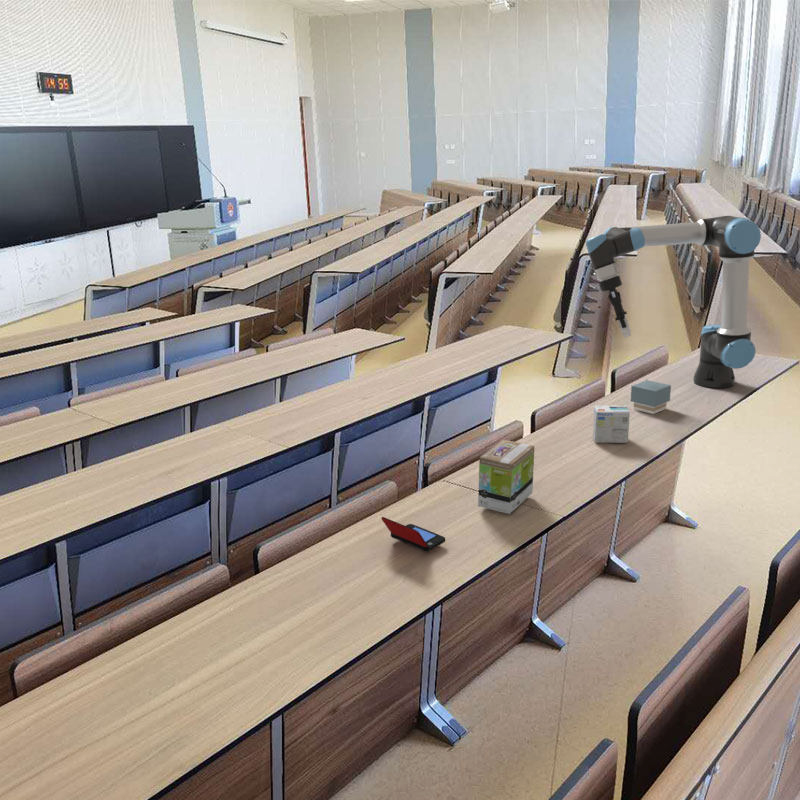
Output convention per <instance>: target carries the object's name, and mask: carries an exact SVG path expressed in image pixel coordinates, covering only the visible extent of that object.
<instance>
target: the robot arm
mask: <svg viewBox="0 0 800 800" xmlns="http://www.w3.org/2000/svg"><path fill="white" fill-rule="evenodd" d="M761 238H762V234H761V229H760V227H759V226H758V225H757V223H755V222H754V221H753V220H751V219H749V218H745V217H741V216H740V217H738V216H733V215H722V216H715V217H709V218H708V217H707V218H699V219H698V220H697V221H696V222H695V221H694V222H682V223H669V224H668V223H667V224H657V225H656V224H654V225H653V224H652V225H641V226H630V227H617V226H612V227H609V228H607V229H606V230H605V231H604V233H601V234H598V235H595V236H593V237H591V238H588V239H586V241H585V246H586V250H587V254H588V256H589V259H590V261H591V264H592V267H593V270H594V273H593V276H596V279H597V281H599V282H598V285H599V289H600V290H601V292H603V293H604V292H607V291H608V292H609V293H608V294H609V295H607V297H608V299H609V301H610V304H611V306H613V309H614V312H615V315H616V316H615V319H614V320H615V321H617V322H618V325H619V328H620V331H621V335H622V337H623V339H625V338H627V337H630V336H632V334H631V332H632V330H631V327H630V324H629V321H628V318H627V314H628V313H627V311H625V309H624V308H623V304H622V298H621V292H620V291H618V290H617V288H618V287H621V286H622V284H623V282H622V279H621V277H620V275H618V274H619V270H618V267H617V264H616V261H615V259H616V258H618V257H621V256H624V255H626V254H629V253H633V252H637V251H638V250H641V249H643V248H645V247H646V248H647V247H658V246H672V245H673V246H675V245H687V244H688V245H690V244H691V245H692V244H696V245H698V246H699V247H700V246H710V247H711V246H712V247H717V248H718V258H719V259H720V260H721V261H722V263H723V264H722V289H721V290H722V291H721V292H722V295H721V323H720V324H708V325H704V326H703V327H702V329H701V333H700V337H701V338H700V348H699V349H700V350H699V363H698V366H697V367H696V370H695V373H694V375H693V381H694V382H693V384H696V385H698V386H701V387H705V388H713V389H714V388H716V389H719V388H721V389H723V388H730V387H733V386H734V385H735V383H736V377H735V373H734V370H735V369H737V370H738V369H743V368H745V367H747V366H748V365H749V364H750V363H752V361H753V360H754V358H755V357H756V346H755V344H754V342H752V339H751V336H752V330H751V328H749V327H748V323H747V322H748V304H749V303H748V300H749V280H750V278H749V275H750V261H751V260H752V259H753V258H754V257H755V250H756V248H757V247H758V246H759V245H760V243H761Z"/></svg>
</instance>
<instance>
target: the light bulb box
mask: <svg viewBox="0 0 800 800" xmlns="http://www.w3.org/2000/svg"><path fill="white" fill-rule="evenodd" d="M630 413H631V412H630V410H629V408H628V406H627V405H597V404H595V405H593V423H592V424H593V427H592V430H593V431H592V432H593V433H592V436H593V440H594V442H595V443H606V444H607V443H614V444H615V443H617V444H619V443H621V444H622V443H623V444H624V443H626V444H627V443H629V429H630V417H631V416H630V415H631V414H630Z"/></svg>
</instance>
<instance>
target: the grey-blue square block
mask: <svg viewBox="0 0 800 800" xmlns="http://www.w3.org/2000/svg"><path fill="white" fill-rule="evenodd" d="M671 392H672V385H671V384H666V383H661V382H658V381H653V380H649V379H646V380H643V381H641V382H638V383H636V384H633V385H631V389H630V402H632V403H634V402H636V403H640V404H644V405H648V406H652V407H656V406H658V405H661V404H663V403H668V402H670V401H671Z"/></svg>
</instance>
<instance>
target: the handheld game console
mask: <svg viewBox="0 0 800 800" xmlns="http://www.w3.org/2000/svg"><path fill="white" fill-rule="evenodd" d="M381 520H382V522H383V524H384V526H386V528H387V529H388V531H389V532H390V537H391V538H392V539H395V540H397V541H400V542H402V543H405V544H407V543H409V544H408V545H410V546H412V547H414V548H417V549H418V550H421V551H423V552H424V553H425V552H426V553H429V552H430V551H432V550H434V549H435V548H437V547H438V546H441V545H443V544H444V543H445V542H446V537H445V536H442V535H441V534H438V533H437V532H436V533H435V532H433V531H431V530H428V529H426V528H425V527H424V528H423V527H420V526H418V525H416V524H413V523H407V524H405V525H404V524H401V523H399V522H397V521H394V520H392V519H389V518H386V517H384V516H381Z"/></svg>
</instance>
